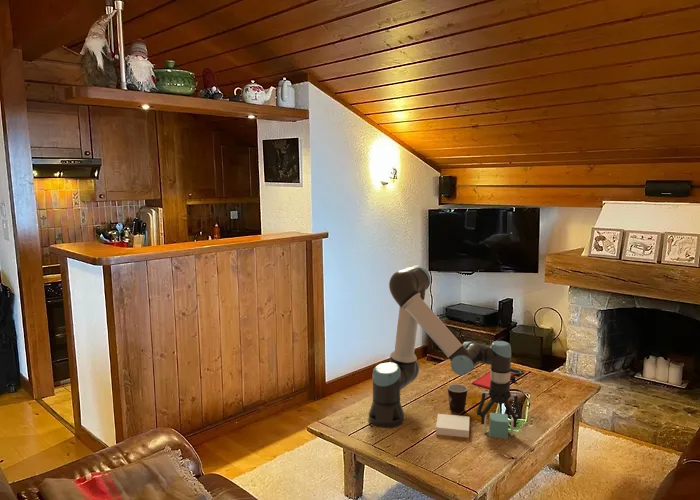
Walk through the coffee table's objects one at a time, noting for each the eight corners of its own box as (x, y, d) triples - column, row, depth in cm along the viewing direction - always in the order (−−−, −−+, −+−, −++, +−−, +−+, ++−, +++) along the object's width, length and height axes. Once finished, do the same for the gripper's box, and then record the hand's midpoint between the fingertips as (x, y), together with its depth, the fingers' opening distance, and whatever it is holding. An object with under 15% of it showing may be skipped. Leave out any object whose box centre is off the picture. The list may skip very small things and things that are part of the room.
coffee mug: (467, 414, 235) (467, 392, 233) (447, 413, 237) (447, 391, 235) (467, 403, 246) (467, 382, 244) (447, 401, 248) (448, 380, 246)
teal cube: (489, 436, 216) (490, 420, 215) (489, 428, 223) (489, 412, 222) (507, 438, 215) (508, 422, 214) (506, 430, 221) (507, 414, 220)
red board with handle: (527, 373, 279) (500, 367, 289) (527, 368, 278) (500, 362, 288) (499, 393, 257) (471, 385, 267) (499, 387, 256) (471, 380, 266)
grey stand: (435, 434, 219) (435, 427, 218) (437, 420, 230) (438, 413, 230) (468, 437, 216) (469, 430, 215) (469, 423, 227) (469, 416, 227)
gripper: (471, 381, 214) (469, 434, 218) (530, 386, 209) (528, 440, 213) (471, 374, 221) (469, 425, 225) (529, 378, 216) (526, 431, 220)
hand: (498, 432), depth 219 cm, fingers open, 10 cm apart
